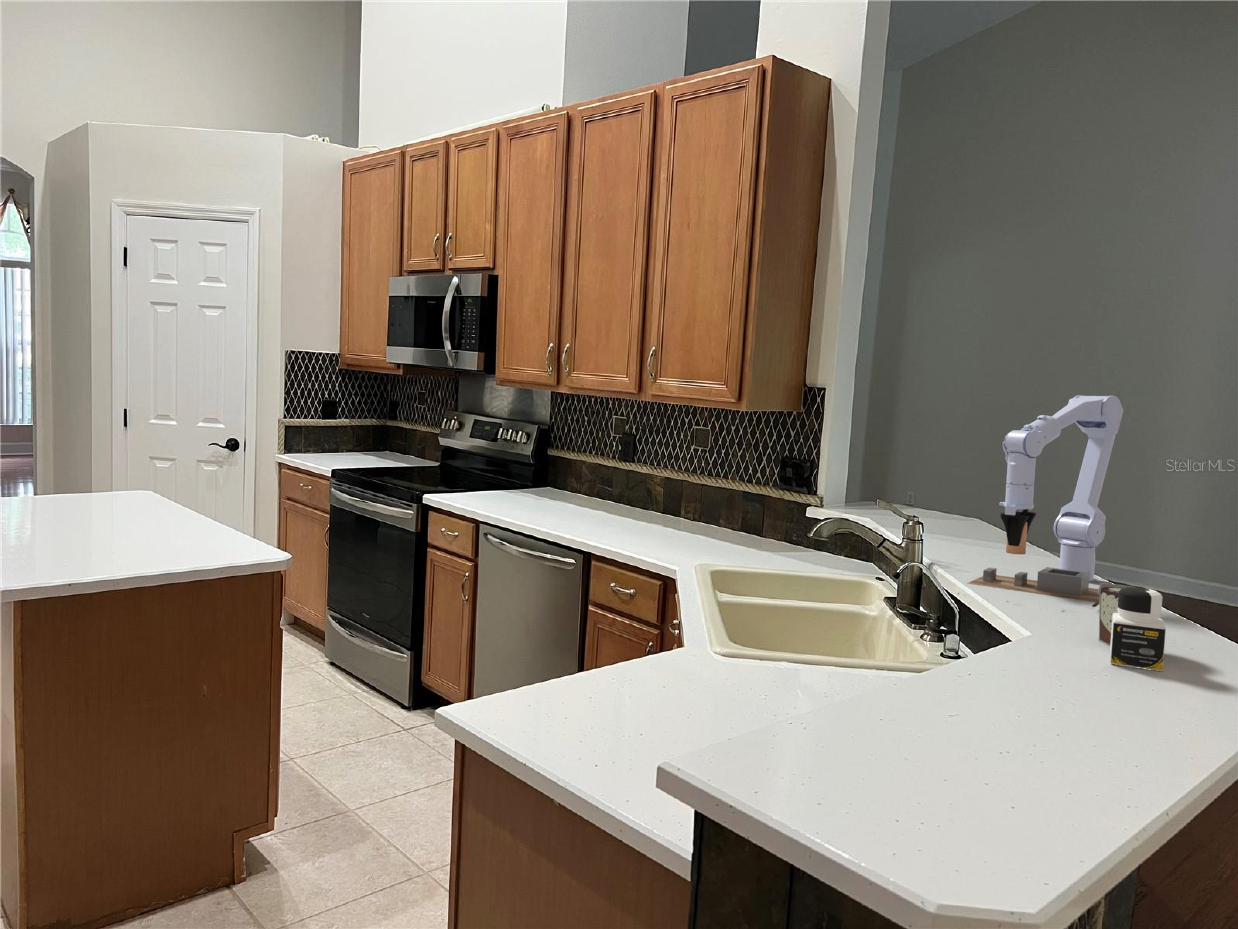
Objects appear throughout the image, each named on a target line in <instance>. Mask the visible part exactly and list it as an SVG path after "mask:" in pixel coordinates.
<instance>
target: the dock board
mask: <svg viewBox="0 0 1238 929" xmlns="http://www.w3.org/2000/svg"><path fill="white" fill-rule="evenodd" d="M997 570H998V569H997V568H995V567H987V568H985V569H983V575H981V576H980V577H977V578H976V579H973V580H970V581H968V582H966V584H967V585H968V584H969V585H976V586H983V587H989V588H995V589H1003V590H1009V591H1015V592H1016V591H1017V592H1024V593H1030V594H1038V595H1043V596H1044V595H1045V596H1052V597H1056V598H1057V597H1058V598H1065V599H1066V598H1067V599H1071V600H1079V601H1085V602H1086V601H1087V602H1093V603H1094V604H1093V605H1091V607H1094V608H1095V607H1096V608H1097V606H1099V599H1100V594H1098V589H1099V588H1093V587H1088V591H1087V592H1086V593H1084V594H1083V595H1082V596H1073V595H1066V594H1059V593H1052V592H1045V591H1038V590H1037V579H1036V580H1034V579H1028V574H1029V573H1028V572H1026V571H1018V572H1016V573H1015V574H1014V577H1013V576H1012V577H1011V576H1005V575H1000V574H997Z"/></svg>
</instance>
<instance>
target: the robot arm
mask: <svg viewBox="0 0 1238 929" xmlns="http://www.w3.org/2000/svg"><path fill="white" fill-rule="evenodd" d="M1123 413H1124V408H1123V406H1122V403H1121V401H1120V399H1119V397H1117V396H1116V395H1082V394H1079V395H1078V394H1077V395H1076V396H1075V395H1074V396H1073V397H1072V398H1069V400H1068V403H1067V404H1066V405H1065V406H1064V407H1063V408H1061V409H1059V410H1058V411H1057V412H1056V413H1054V415H1052V416H1051V415H1045V414H1041V415H1038V416H1037V417H1036V418H1037V419H1036V420H1034V421H1033V422H1031V423H1029V424H1025V425H1023V428H1021V429H1020V430H1011V431H1010V432H1008V433H1007V434H1006V435H1005V436H1004V437H1005V438H1004V439H1003V441H1002V449H1003V452H1004V453H1005V454H1004V455H1005V462H1006V463H1007V471H1006V484H1005V500H1004V501H1000V502H999V506H1001V507H1002V506H1003V507H1004V508H1005V509H1004V512H1000V514H999V515H1000V518H1001V521H1002V522H1003V525H1004V528H1005V532H1006V542H1007V541H1008V545H1011V546H1019V544H1020V541H1021V537H1022V532H1023V528H1024V525H1025V523H1026V522H1027V535H1028V533H1029V530H1030V526H1031V524H1032V522H1033V520H1035V518H1036V515H1037V513H1036V512H1033V511H1032V509H1034V508H1035V504H1034V494H1035V493H1034V492H1035V478H1036V464H1037V462H1036V461H1037V457H1039V456H1040V455H1041V454H1042V451H1043V449H1044V447H1046V445H1047V444H1049V443H1051V442H1052V441H1054V440H1055V439H1058V437H1060V435H1061V433H1062V429H1065V428H1066V427H1068V426H1070V425H1072V424H1074V423H1075V424H1076V426H1077V427H1078V428H1079V430H1080V431H1081V432H1082V433H1084V434H1086V436H1087V437H1088V441H1087V445H1086V448H1085V451H1084V456H1083V460H1082V462H1081V467H1080V470H1079V475H1078V479H1077V483H1076V487H1075V490H1074V493H1073V497H1072V501H1071V502H1069V503H1067V504H1065V505H1064V506H1061V508H1060V510H1059V511H1060V512H1059V515H1058V516H1057V517H1056V519H1055V521H1054V523H1053V533H1054V536H1055V538H1056V539H1057V541H1058V543H1060V554H1059V567H1058V569H1066V570H1074V571H1081V572H1089V582H1092V581H1099V579H1098V578H1095V566H1096V547H1099V544H1101V543H1102V542H1103V540H1104V538H1105V537H1106V536H1105V535H1106V520H1107V516H1106V515H1105V514H1104V512H1102V510H1101V509H1100V507H1098V505H1099V501H1100V496H1101V493H1102V490H1103V486H1104V482H1105V477H1106V474H1107V470H1108V466H1109V463H1110V459H1111V454H1112V450H1113V447H1114V444H1115V440H1116V439H1115V438H1116V435H1117V434H1118V432H1119V429H1120V426H1121V422H1122V418H1123V415H1124V414H1123Z"/></svg>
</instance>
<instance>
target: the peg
mask: <svg viewBox="0 0 1238 929" xmlns="http://www.w3.org/2000/svg"><path fill="white" fill-rule="evenodd" d="M1027 538H1028V534H1027V522H1026V523H1025V525H1024V528H1023V532H1022V537H1021V541H1020V544H1019V546H1011V545H1008V541H1007V540H1006V548H1005V550H1006V551H1005V553H1007V554H1010V555H1011V554H1012V555H1026V553H1027Z"/></svg>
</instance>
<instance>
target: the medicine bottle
mask: <svg viewBox="0 0 1238 929" xmlns="http://www.w3.org/2000/svg"><path fill="white" fill-rule="evenodd" d="M1162 608H1163V595H1162V594H1161V593H1160V592H1158V591H1157V590H1154V589H1150V588H1145V587H1138V586H1137V587H1136V586H1131V587H1126V588H1123V589H1121V590H1120V591H1119V595H1118V609H1117V612H1119V613H1113V615H1112V629H1111V643H1110V646H1109V660H1110V661H1109V664H1110V665H1112V664H1115V665H1114V666H1117V665H1122V666H1121V667H1124V666H1128V667H1127V668H1131V667H1140V668H1146V669H1151V670H1156V671H1155V672H1158V671H1161V672H1163V669H1164V656H1165V645H1166V630H1167V629H1166V625H1165V622H1164V620H1163V618H1161V617H1162ZM1151 670H1150V671H1151Z"/></svg>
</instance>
